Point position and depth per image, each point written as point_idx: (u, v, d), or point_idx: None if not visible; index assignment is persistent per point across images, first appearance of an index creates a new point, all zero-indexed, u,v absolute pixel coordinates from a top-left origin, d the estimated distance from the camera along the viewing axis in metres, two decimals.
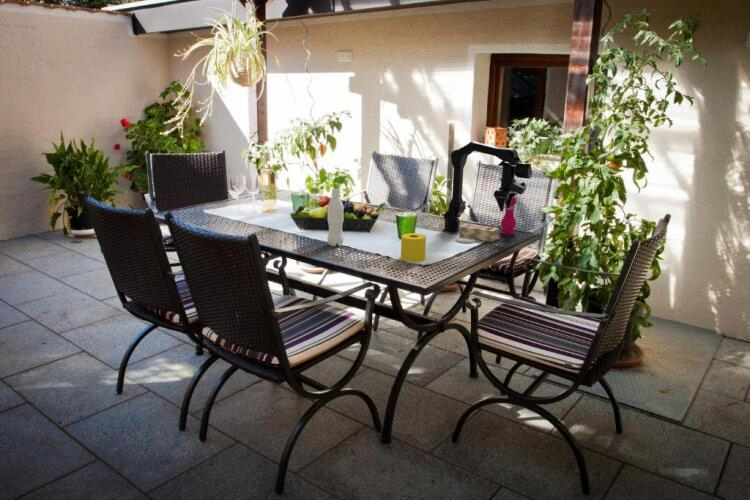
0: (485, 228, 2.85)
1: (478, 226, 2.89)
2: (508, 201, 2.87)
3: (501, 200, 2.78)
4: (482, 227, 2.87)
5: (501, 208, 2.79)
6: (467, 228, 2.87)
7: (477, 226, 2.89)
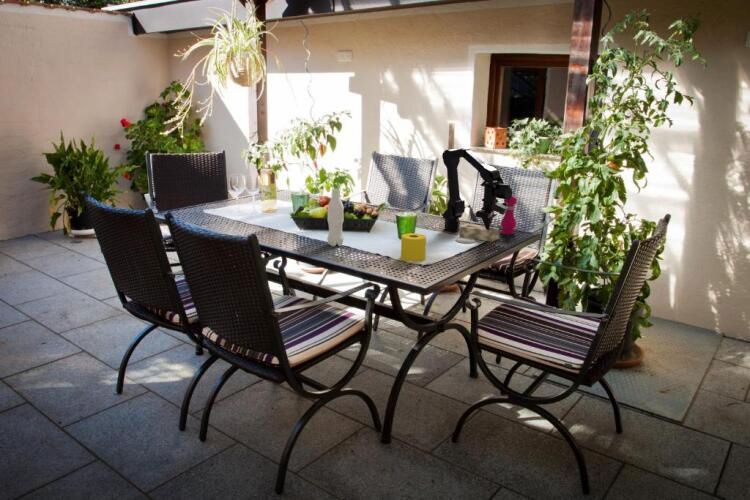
0: None
1: (479, 226, 2.88)
2: None
3: (486, 219, 2.83)
4: (483, 228, 2.87)
5: (487, 226, 2.84)
6: (467, 228, 2.87)
7: (478, 226, 2.88)
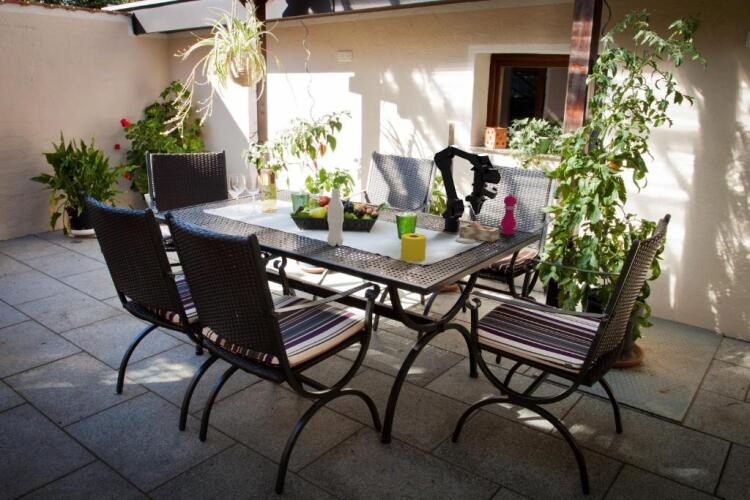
0: None
1: (481, 227, 2.88)
2: (478, 207, 2.87)
3: (475, 204, 2.83)
4: None
5: (475, 212, 2.84)
6: (467, 228, 2.87)
7: (481, 226, 2.88)
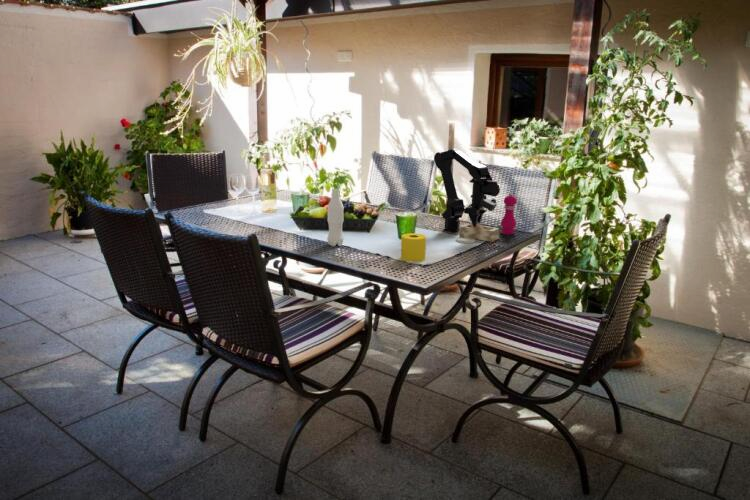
0: None
1: (481, 227, 2.88)
2: (478, 218, 2.89)
3: (474, 216, 2.84)
4: None
5: (474, 223, 2.85)
6: (467, 228, 2.87)
7: (481, 226, 2.88)
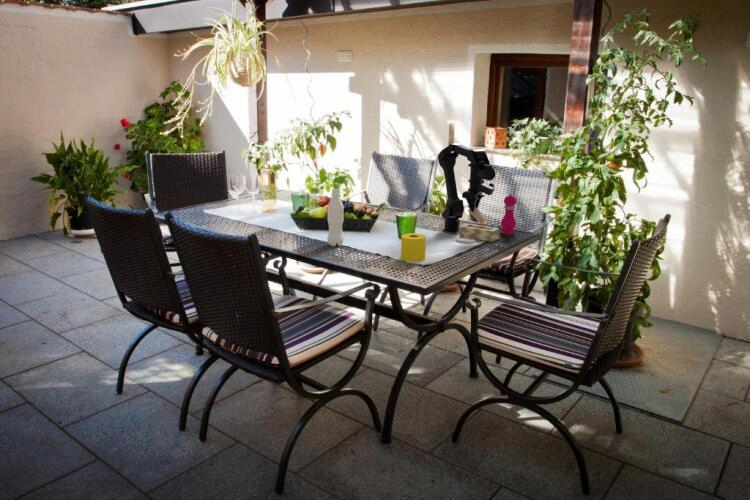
0: (485, 219, 2.81)
1: (480, 212, 2.83)
2: (476, 203, 2.84)
3: (472, 200, 2.79)
4: (482, 216, 2.82)
5: (472, 208, 2.80)
6: (467, 228, 2.87)
7: (479, 211, 2.83)
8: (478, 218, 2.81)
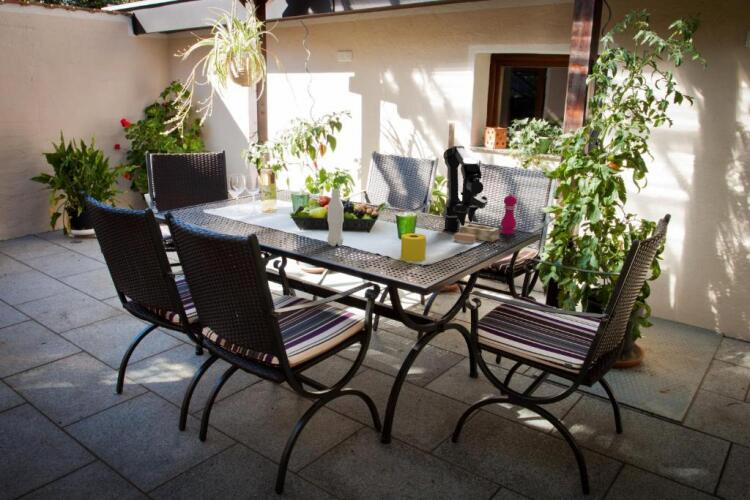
0: (473, 235, 2.79)
1: (465, 233, 2.82)
2: (470, 215, 2.83)
3: (462, 214, 2.74)
4: (469, 234, 2.80)
5: (462, 222, 2.75)
6: (467, 228, 2.87)
7: (464, 233, 2.82)
8: (467, 239, 2.79)
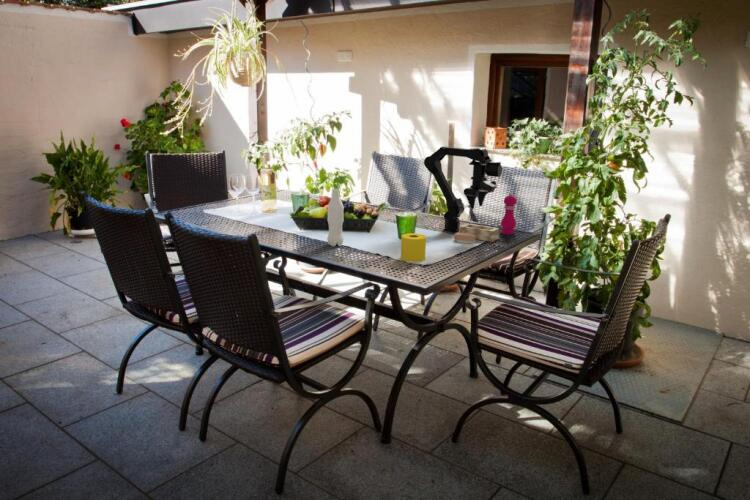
0: (473, 235, 2.79)
1: (465, 233, 2.82)
2: (480, 199, 2.95)
3: (471, 198, 2.86)
4: (469, 234, 2.81)
5: (472, 206, 2.88)
6: (467, 228, 2.87)
7: (464, 233, 2.82)
8: (467, 239, 2.79)
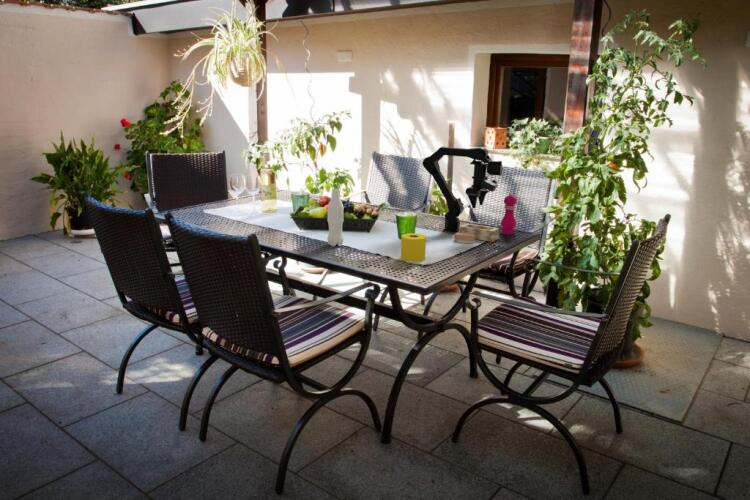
0: (473, 235, 2.79)
1: None
2: (481, 198, 2.97)
3: (473, 197, 2.88)
4: (469, 234, 2.81)
5: (473, 205, 2.89)
6: (467, 228, 2.87)
7: (464, 233, 2.82)
8: (467, 239, 2.79)
